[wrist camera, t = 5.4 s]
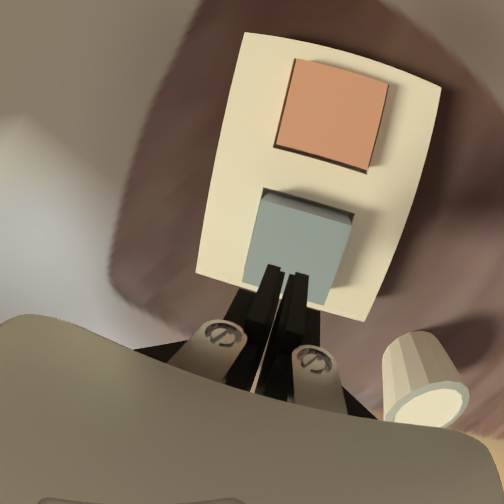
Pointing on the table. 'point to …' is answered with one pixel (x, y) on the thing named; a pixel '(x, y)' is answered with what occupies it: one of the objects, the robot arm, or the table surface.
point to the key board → (315, 169)
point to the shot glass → (421, 382)
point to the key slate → (297, 243)
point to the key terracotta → (332, 113)
